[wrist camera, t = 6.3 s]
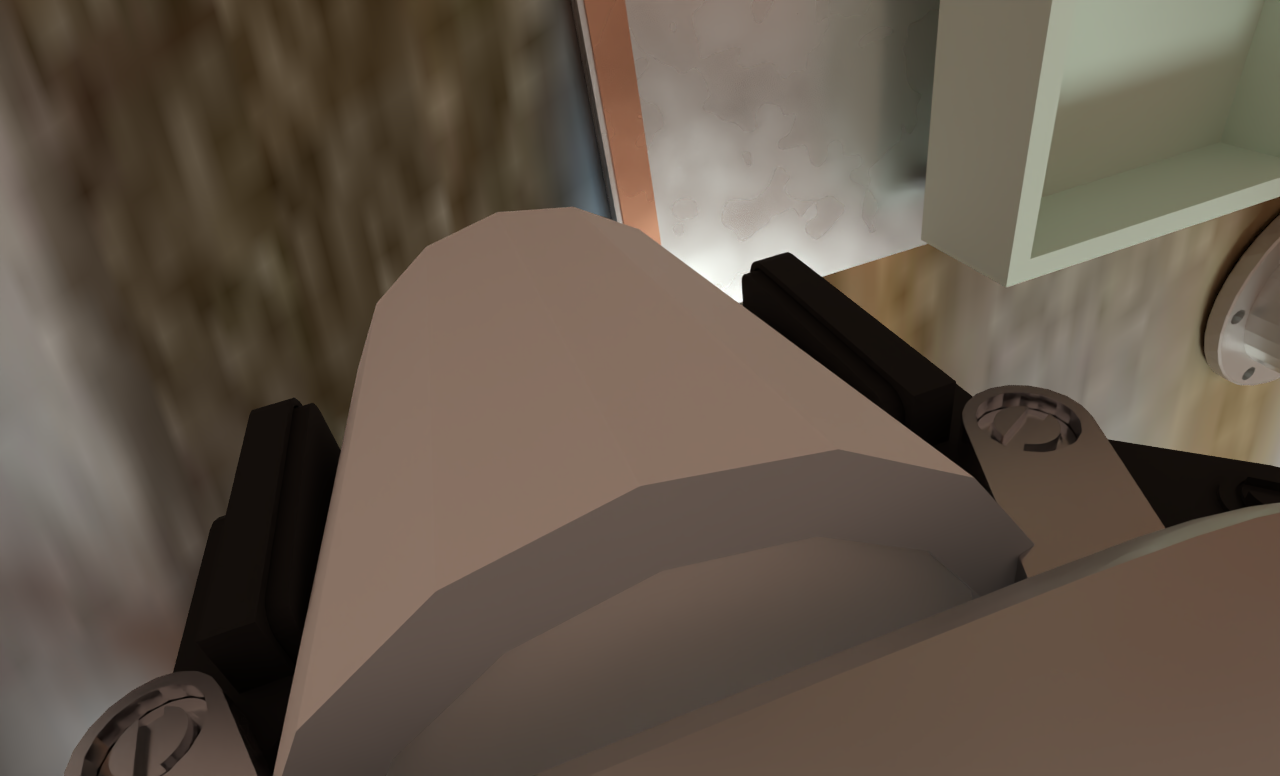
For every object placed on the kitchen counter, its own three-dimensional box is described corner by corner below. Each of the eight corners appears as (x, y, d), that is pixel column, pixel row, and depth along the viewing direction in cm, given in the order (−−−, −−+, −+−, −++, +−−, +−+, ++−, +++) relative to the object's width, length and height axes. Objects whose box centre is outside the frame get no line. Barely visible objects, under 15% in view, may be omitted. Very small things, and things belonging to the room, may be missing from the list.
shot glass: (452, 57, 9) (603, 282, 3) (811, 292, 13) (1172, 589, 7) (235, 471, 11) (102, 1045, 5) (599, 570, 15) (747, 976, 9)
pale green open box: (1300, -284, 23) (1534, -334, 18) (1179, 143, 31) (1322, 182, 26) (929, -215, 20) (1093, -254, 16) (901, 228, 28) (1005, 287, 24)
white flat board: (1307, -332, 23) (1338, -339, 23) (1171, 157, 33) (1189, 162, 32) (533, -199, 19) (540, -204, 18) (631, 324, 28) (638, 335, 27)
